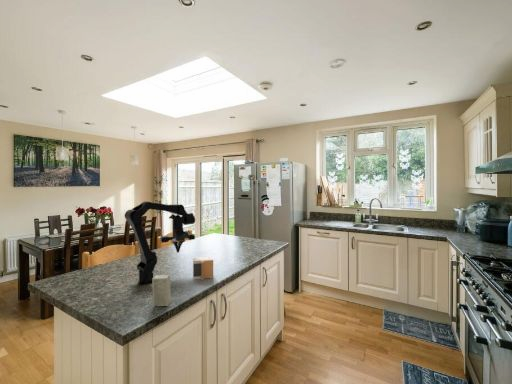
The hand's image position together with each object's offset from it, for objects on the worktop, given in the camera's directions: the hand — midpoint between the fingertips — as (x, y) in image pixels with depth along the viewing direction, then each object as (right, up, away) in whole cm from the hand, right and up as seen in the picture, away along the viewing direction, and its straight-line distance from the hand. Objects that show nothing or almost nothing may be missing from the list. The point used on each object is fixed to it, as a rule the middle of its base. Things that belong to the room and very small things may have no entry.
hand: (177, 252), depth 143 cm
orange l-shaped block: (+19, -12, -10) cm, 25 cm away
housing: (+15, -12, -6) cm, 20 cm away
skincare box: (+6, -13, -39) cm, 42 cm away
